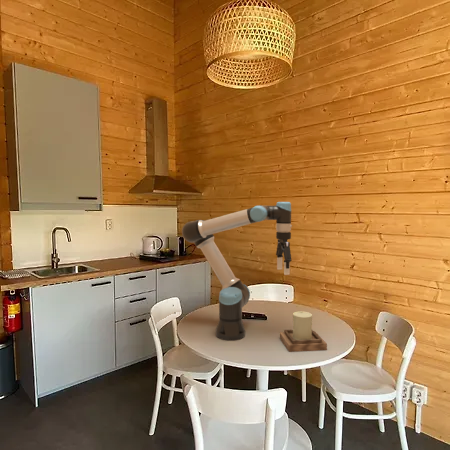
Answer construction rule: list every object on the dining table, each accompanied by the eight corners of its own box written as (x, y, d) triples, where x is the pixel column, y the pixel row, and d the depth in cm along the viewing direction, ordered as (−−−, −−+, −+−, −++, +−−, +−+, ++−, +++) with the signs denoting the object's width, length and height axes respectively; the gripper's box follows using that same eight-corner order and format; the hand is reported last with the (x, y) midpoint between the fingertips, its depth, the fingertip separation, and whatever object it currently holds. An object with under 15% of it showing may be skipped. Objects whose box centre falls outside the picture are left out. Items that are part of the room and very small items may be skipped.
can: (309, 333, 171) (309, 310, 171) (314, 341, 162) (314, 316, 161) (290, 334, 171) (290, 310, 170) (294, 341, 162) (295, 316, 161)
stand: (288, 351, 158) (289, 342, 158) (279, 338, 174) (279, 329, 173) (326, 349, 160) (327, 340, 160) (314, 336, 176) (314, 327, 175)
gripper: (298, 233, 168) (297, 276, 169) (283, 229, 192) (283, 267, 194) (283, 233, 167) (282, 277, 168) (270, 229, 192) (270, 267, 193)
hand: (283, 272), depth 181 cm, fingers open, 13 cm apart
